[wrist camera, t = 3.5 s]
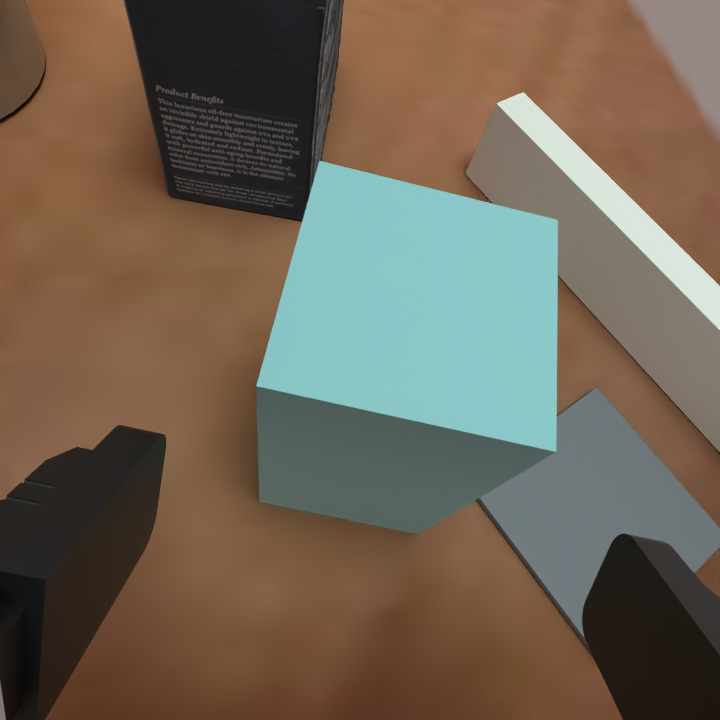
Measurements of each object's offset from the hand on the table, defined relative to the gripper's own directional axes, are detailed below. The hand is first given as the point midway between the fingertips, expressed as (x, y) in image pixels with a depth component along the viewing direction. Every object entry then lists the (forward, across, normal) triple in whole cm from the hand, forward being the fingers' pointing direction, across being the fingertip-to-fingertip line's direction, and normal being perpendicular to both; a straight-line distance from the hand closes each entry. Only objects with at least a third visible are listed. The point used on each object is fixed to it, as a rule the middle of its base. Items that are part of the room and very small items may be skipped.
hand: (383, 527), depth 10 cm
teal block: (+10, 0, +3) cm, 10 cm away
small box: (+20, +7, -6) cm, 22 cm away
